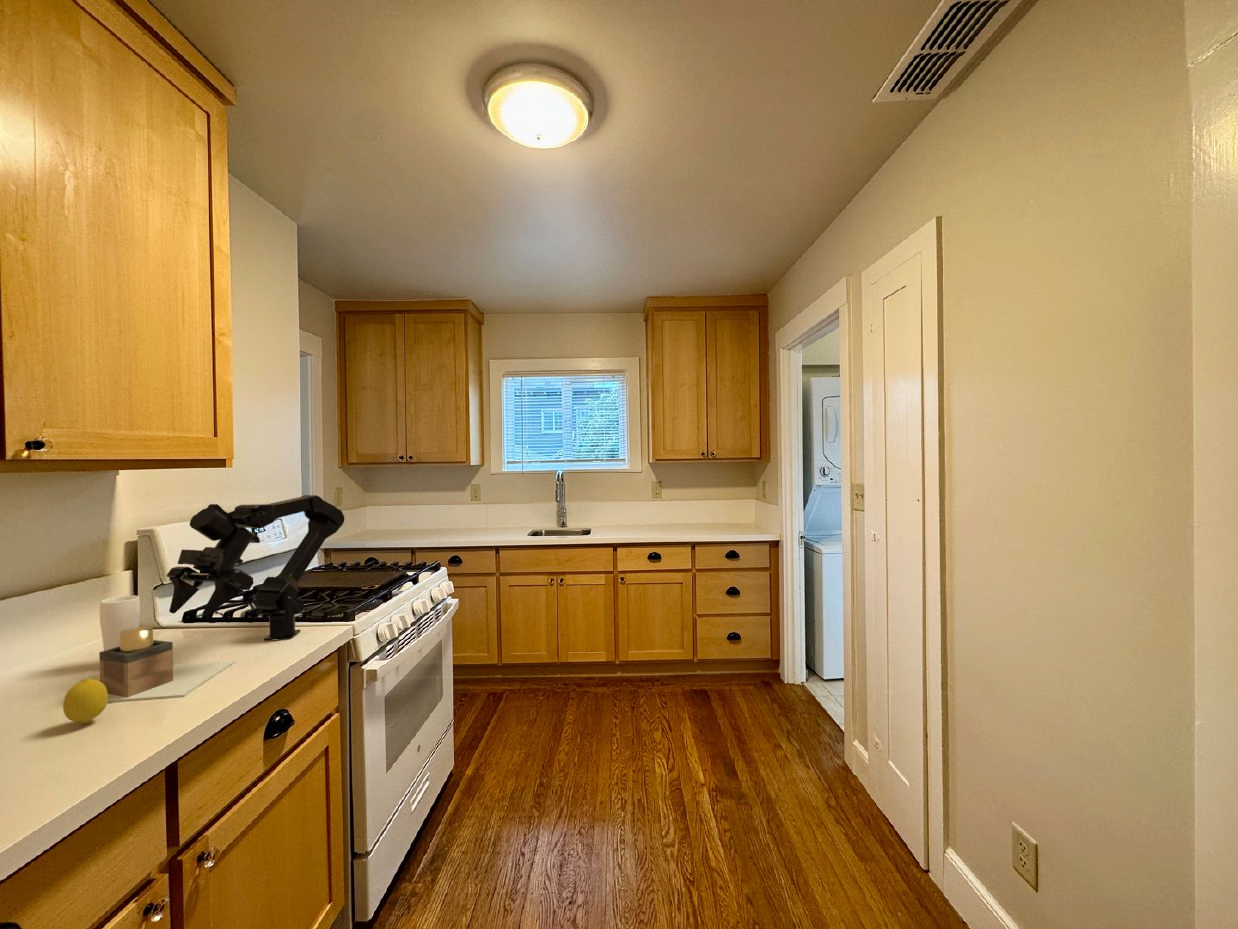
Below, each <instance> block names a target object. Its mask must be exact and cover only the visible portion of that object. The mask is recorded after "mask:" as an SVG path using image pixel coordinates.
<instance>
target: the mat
mask: <svg viewBox="0 0 1238 929" xmlns="http://www.w3.org/2000/svg"><path fill="white" fill-rule="evenodd" d="M234 662H235V663H236V660H227V661H226V660H225V661H222V660H221V661H210V662H196V663H195V662H192V663H191V662H190V663H178V664H173V681H171V682H169V683H166V684H163V685H160V686H158V687H155V688H152V689H150V690H147V691H144V692H141V693H139V694H136V695H133V696H131V697H123V696H117V695H110V694H108V701H107V703H116V702H129V701H142V700H143V701H144V699H146V700H157V699H158V700H159V699H170V698H171V699H172V698H182V697H183V698H184V697H185V696H187V695H188V694H190V693H192V692H193V691H195V690H196V689H197V687H198V688H199V687H201V686H202V685H204V684H205V683H206V681H207V682H208V681H210V680H211V679H213V678H214V677H216V676H217V675H219V674H220V673H222V672H223V671H225V670H226V669H228V668H230V667H231V666H232V665H234V664H235V663H234ZM233 663H234V664H233ZM231 664H232V665H231ZM230 665H231V666H230ZM227 667H228V668H227ZM224 669H225V670H224ZM221 671H222V672H221ZM215 675H216V676H215Z"/></svg>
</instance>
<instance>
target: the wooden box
mask: <svg viewBox="0 0 1238 929" xmlns="http://www.w3.org/2000/svg"><path fill="white" fill-rule="evenodd" d="M173 647H174V643H173V642H172V641H165V640H157V639H153V647H150V648H146V649H143V650H140V651H136V652H133V653H124V652H120V646H119V647H116V648H112V649H109V650H105V651H104V650H102V651H99V654H98V655H99V681H100V682H102V683H103V684H104V685H105V687H106V689H107V693H108V694H110V695H117V696H123V697H131V696H133V695H136V694H139V693H141V692H144V691H147V690H150V689H152V688H155V687H158V686H160V685H163V684H166V683H169V682H171V681H173V665H174V655H173V654H174V650H173V649H174V648H173Z"/></svg>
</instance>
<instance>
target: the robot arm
mask: <svg viewBox="0 0 1238 929" xmlns="http://www.w3.org/2000/svg"><path fill="white" fill-rule="evenodd" d="M302 512H303V514H304V517H305V518H307V520H308V522H307V528H308V529H307V533H306V534H305V536H304V537H303V539H302V540H301V542H300V543H299V544H298V546H297V548H296V549H295V551H294V552H293V553H292V555H291V556H290V558H289V559H288V561H287V562H286V564H285V566H284V567H283V568H282V570H281V571H280V573H279V574H278V575H277V576H267V577H266V578H265V579H264V580H263V583H262V585H260V587H259V588H258V589H257V594H256V597H255V600H256V605H257V607H258V608H259V611H260V613H261V615H269V618H268V619H269V620H268V621H269V634H268V635H266V636H265V637H264V638H263V641H273V640H272V639H279V640H289V638H290V639H293V637H295V636H296V635H298V634H299V633H301V629H296V615H298V614H299V613H302V612H303V611H304V606H305V603H304V602H303V601H302V600H301V599H300V598H299V597H298V594H299V581H300V580H301V578H302V576H303V575H304V573H305V572H306V570H307V569H308V567H309V566H310V564H311V563H312V561H313V559H314V558H315V556H316V555H317V553H318V552H319V550H320V549H321V547H322V545H323V544H324V542H325V540H327V539H328V538H329V537H331V536H333V535H334V534H336V533H337V532H339V529H340V528H341V527H342V526H343V525H344V522H345V515H344V513H343V511H342V510H341V509H340V508H338V507H337V506H335V505H334V504H331V503H329V502H327V501H326V500H324V499H323V498H322V497H320V496H319V495H315V494H313V495H312V494H311V495H310V494H304V495H301V496H300V497H299V496H298V497H294V498H290V499H285V500H279V501H276V502H272V503H265V504H258V503H257V504H256V503H255V504H239V505H237V506H235V507H234V510H231V511H230V512H227V511H226V510H225V509H223V508H222V506H221V505H219V504H216V503H210V504H209V505H208V506H207V507H206V508H203V509H202V510H200V511H198V512H197V513H196V514H194V515H193V516H192V517H191V519H190V522H189V527H191V528H192V529H193V530H194V531H196V532H198V533H199V534H201V535H203V536H204V537H205V538H207V539H208V540H210V541H212V542H216V541H217V543H216V544H215V546H214V547H213V546H205V547H204V548H203V549H200V550H199V549H181V552H180V554H179V556H178V561H177V565H190V566H193V567H189V566H175V567H171V568H170V569H169V571H168V572H167V574H166V578H169V580H168V581H169V582H171V583H172V585H173V594H172V597H171V603H170V605H169V606H170V607H169V611H168V612H169V613H171V614H175V613H176V612H177V613H178V611H179V610H180V609H181V608H182V607H183V606H184V605H185V604H186V603H188V601H189V600H190V599H191V598H192V597H193V596H194V595H195V594H196V593H197V592H198V591H199V590H200V588H199V587H200V586H202V585H203V583H214V591H213V592H212V594H211V596H210V597H209V599H208V601H207V603H206V605H205V607H204V609H203V611H202V615H203V616H210V614H211V613H213V612H214V611H216V610H217V609H219V608H220V607H222V606H223V605H224V604H226V603H227V602H229V601H230V600H232V599H234V598H235V597H237V596H239V595H240V594H243V593H244V592H245V591H250V590H251V588H252V587H253V585H254V583H255V582H254V577H253V576H251V575H250V574H248V573H246V572H245V571H244V570H242V569H240V568H235V567H236V566H237V565H242V564H243V562H244V559H242V558H241V557H242V556H243V554H244V553H245V551H246V549H247V548H248V546H249V545H250V544H260V543H261V540H260V537H259V534H258V532H257V531H250V530H249V528H250V529H263V528H266V526H269V525H271V524H274V522H275V521H277V520H278V519H280V518H284V517H288V516H290V515H291V516H292V515H295V514H299V513H302ZM247 528H248V529H247ZM298 632H299V633H298ZM297 633H298V634H297ZM295 634H296V635H295ZM294 635H295V636H294Z"/></svg>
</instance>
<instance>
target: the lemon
mask: <svg viewBox="0 0 1238 929" xmlns="http://www.w3.org/2000/svg"><path fill="white" fill-rule="evenodd" d="M107 701H108V693H107V689H106V687H105V685H104V684H103V683H102V682H100V680H97V679H90V678H83V679H82V680H81V681H79V682H77V683H75V684H73V686H71V687H70V688H69V689H68V691H67V692H66V694H65V696H64V699H63V704H62V708H63V714H64V715H65V717H66V719H68V720H69V721H72V722H73V723H81V724H82V725H88V724H89V723H91V721H92V720H93V719H95V718H97V717H98V716H100V715H101V714H102V712H103V711H104V710H105V708H106V707H107V704H108V702H107Z"/></svg>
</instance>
